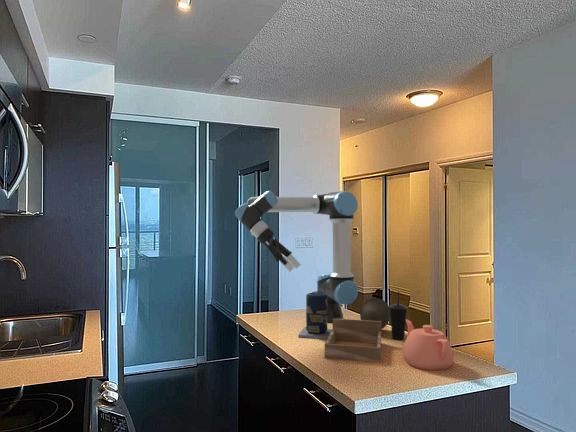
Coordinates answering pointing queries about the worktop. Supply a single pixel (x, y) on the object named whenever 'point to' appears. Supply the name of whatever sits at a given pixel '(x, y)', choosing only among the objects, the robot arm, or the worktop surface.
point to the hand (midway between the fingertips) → (295, 268)
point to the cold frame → (354, 340)
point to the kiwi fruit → (375, 311)
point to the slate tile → (314, 334)
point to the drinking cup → (398, 320)
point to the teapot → (427, 348)
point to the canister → (316, 312)
